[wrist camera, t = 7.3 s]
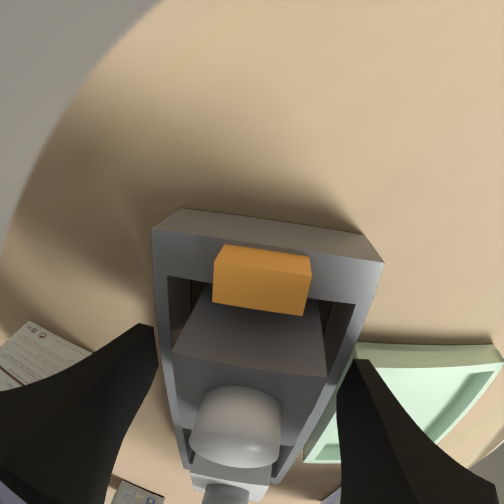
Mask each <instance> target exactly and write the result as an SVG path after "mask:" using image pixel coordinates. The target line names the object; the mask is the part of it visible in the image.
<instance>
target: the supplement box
mask: <svg viewBox="0 0 504 504" xmlns="http://www.w3.org/2000/svg"><path fill="white" fill-rule="evenodd" d="M91 354H93V353H91V352H89V351H87V350H85V349H83V348H81V347H79V346H77V345H75V344H73V343H71V342H69V341H67V340H65V339H63V338H61V337H59V336H57V335H56V334H54V333H52V332H50V331H48V330H46V329H44V328H43V327H41V326H39V325H37V324H35V323H34V322H32V321H28V322H27V323H26V324H24V325H23V326H22V327H21V328H20V329H19V330H18V331H17V332H16V333H15V334H13V335H12V336H11V337H10V338H9V339H8V340H7V341H6V342H5V343H4V344H3V345H2V346H1V347H0V391H4V390H9V389H13V388H17V387H21V386H24V385H27V384H30V383H33V382H36V381H39V380H41V379H44V378H47V377H49V376H52V375H54V374H56V373H58V372H60V371H62V370H64V369H66V368H68V367H70V366H72V365H74V364H76V363H77V362H79V361H81V360H83V359H84V358H86V357H88V356H89V355H91Z"/></svg>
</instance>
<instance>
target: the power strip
mask: <svg viewBox="0 0 504 504" xmlns="http://www.w3.org/2000/svg"><path fill="white" fill-rule="evenodd" d="M151 240H152V265H153V282H154V295H155V307H156V317H157V327H158V335H159V344H160V351H161V358H162V365H163V372H164V378H165V384H166V390H167V396H168V401H169V406H170V411H171V416H172V421H173V426H174V430H175V435H176V439H177V443H178V448H179V452H180V456H181V459H182V463H183V467H184V468H185V469H189V470H191V467H192V464H193V461H194V457H195V454H196V452H195V451H194V450H193V449H192V448H191V447H190V445H189V438H190V435H191V432H192V430H191V429H187V428H183V427H181V423H180V417H179V411H178V404H177V397H176V390H175V382H174V373H173V365H172V355H171V351H172V349H173V347H174V345H175V343H176V341H177V339H178V338H179V336H180V334H181V332H182V330H183V328H184V326H185V324H186V322H187V320H188V319H189V317H190V315H191V280H196V281H201V282H207V283H213V296H212V302H215V303H221V304H226V305H232V306H238V307H244V308H251V309H257V310H263V311H270V312H277V313H284V314H291V315H299V316H303V312H304V308H305V304H306V300H307V298H311V299H319V300H326V301H334V304H333V307H332V311H331V314H330V317H329V320H328V323H327V327H326V330H325V333H324V336H323V343H324V352H325V360H326V370H327V379H326V381H325V384H324V386H323V388H322V390H321V392H320V395H319V397H318V399H317V401H316V403H315V405H314V407H313V409H312V411H311V413H310V415H309V417H308V419H307V421H306V423H305V425H304V427H303V429H302V431H301V433H300V435H299V436H298V438H297V440H296V442H295V444H294V446H285V445H281V446H280V449H279V457H278V459H277V460H276V461H275V462H274V463H272V470H271V479H270V484H280V482H281V481H282V479H283V478H284V476H285V475H286V473H287V472H288V470H289V469H290V467H291V466H292V464H293V463H294V461H295V460H296V458H297V456H298V455H299V453H300V452H301V450H302V448H303V447H304V445H305V443H306V442H307V440H308V438H309V437H310V435H311V433H312V431H313V430H314V428H315V426H316V424H317V423H318V421H319V419H320V417H321V415H322V413H323V411H324V410H325V408H326V406H327V404H328V402H329V400H330V398H331V396H332V394H333V392H334V390H335V388H336V386H337V384H338V382H339V380H340V378H341V375H342V373H343V371H344V369H345V367H346V365H347V362H348V360H349V358H350V356H351V353H352V351H353V349H354V346H355V344H356V342H357V339H358V337H359V334H360V332H361V329H362V327H363V324H364V322H365V319H366V316H367V314H368V311H369V308H370V305H371V303H372V300H373V297H374V294H375V291H376V288H377V285H378V282H379V279H380V276H381V273H382V270H383V267H384V261H383V260H382V258H381V257H380V256H379V254H378V253H377V251H376V250H375V249H374V247H373V246H372V244H371V243H370V242H369V240H368V239H367V238H366V236H365V235H362V234H356V233H351V232H345V231H339V230H333V229H327V228H321V227H314V226H308V225H302V224H295V223H288V222H282V221H275V220H268V219H261V218H254V217H247V216H239V215H232V214H224V213H216V212H208V211H200V210H191V209H183V208H180V209H178V210H177V211H175V212H174V213H172V214H171V215H170V216H168V217H167V218H165V219H164V220H162V221H161V222H160V223H158V224H157V225H155V226H154V227H153V228H151Z"/></svg>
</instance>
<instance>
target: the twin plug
mask: <svg viewBox="0 0 504 504" xmlns="http://www.w3.org/2000/svg"><path fill="white" fill-rule="evenodd" d="M271 470H272V464H270V465H267V466H263V467H257V468H237V467H230V466H225V465H221V464H218V463H215V462H212V461H210V460H208V459H205V458H204V457H202V456H200V455H199V454H197V453H196V454H195V457H194V461H193V464H192V467H191V471H190V475H191V479H192V483H193V487H194V491H196V492H200V493H204V497H203V501H202V504H248V501H252V502H260V500H261V499H262V497H263V496H264V494H265V493H266V491H267V490H268V488H269V486H270V479H271Z"/></svg>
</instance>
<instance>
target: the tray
mask: <svg viewBox="0 0 504 504" xmlns="http://www.w3.org/2000/svg"><path fill="white" fill-rule="evenodd" d="M353 358H354V359H369V360H370V362H371V363H372V365H373V366H374V367H375V369H376V370H377V372H378V373H379V375H380V376H381V377H382V379H383V380H384V382H385V383H386V385H387V386H388V387H389V389H390V390H391V392H392V393H393V394H394V396H395V397H396V399H397V400H398V401H399V403H400V404H401V405H402V407H403V408H404V409H405V410H406V412H407V413H408V414H409V415H410V417H411V418H412V419H413V420H414V421H415V423H416V424H417V425H418V426H419V427H420V428H421V430H422V431H423V432H424V433H425V434H426V435H427V436H428V437H429V438H430V439H431V440H432V441H433V442H434V443H435V444H437V443H438V442H439V441H441V440H442V439H443V438H444V437H445V436H446V435H447V434H448V433H449V432H450V431H451V429H452V428H453V427H454V426H455V425H456V424H457V423H458V422H459V421H460V420H461V419H462V418H463V417H464V415H465V414H466V413H467V412H468V411H469V410H470V409H471V407H472V406H473V405H474V404H475V403H476V401H477V400H478V399H479V398H480V396H481V395H482V394H483V393H484V391H485V390H486V389H487V387H488V386H489V385H490V383H491V382H492V381H493V379H494V378H495V377H496V375H497V374H498V372H499V371H500V369H501V368H502V366H503V365H504V359H503V357H502V356H501V354H500V353H499V351H498V350H497V348H496V347H495V346H494V344H489V345H406V344H386V343H370V342H356V344H355V346H354V349H353V351H352V353H351V356H350V358H349V360H348V362H347V365H346V367H345V369H344V371H343V373H342V375H341V378H340V380H339V382H338V384H337V386H336V388H335V390H334V392H333V394H332V396H331V398H330V400H329V402H328V404H327V406H326V408H325V410H324V411H323V413H322V415H321V417H320V419H319V421H318V423H317V424H316V426H315V428H314V430H313V431H312V433H311V435H310V437H309V438H308V440H307V442H306V443H305V445H304V447H303V463H341V458H340V448H339V439H338V430H337V421H336V393H337V392H338V390H339V388H340V386H341V384H342V382H343V379H344V377H345V375H346V373H347V371H348V369H349V367H350V365H351V363H352V360H353Z"/></svg>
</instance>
